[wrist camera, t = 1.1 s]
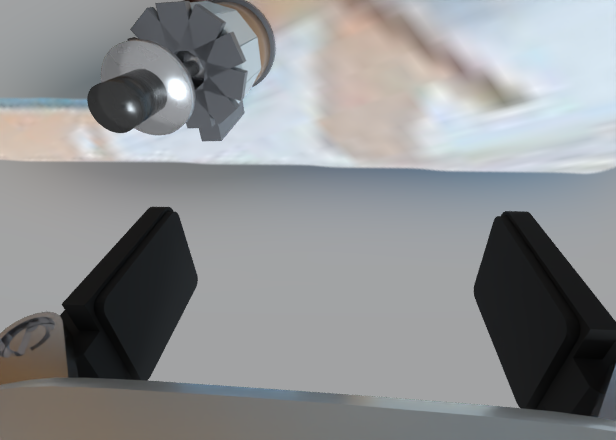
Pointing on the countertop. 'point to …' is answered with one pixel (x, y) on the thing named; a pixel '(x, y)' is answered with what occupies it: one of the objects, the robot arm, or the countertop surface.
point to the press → (214, 54)
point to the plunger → (145, 88)
